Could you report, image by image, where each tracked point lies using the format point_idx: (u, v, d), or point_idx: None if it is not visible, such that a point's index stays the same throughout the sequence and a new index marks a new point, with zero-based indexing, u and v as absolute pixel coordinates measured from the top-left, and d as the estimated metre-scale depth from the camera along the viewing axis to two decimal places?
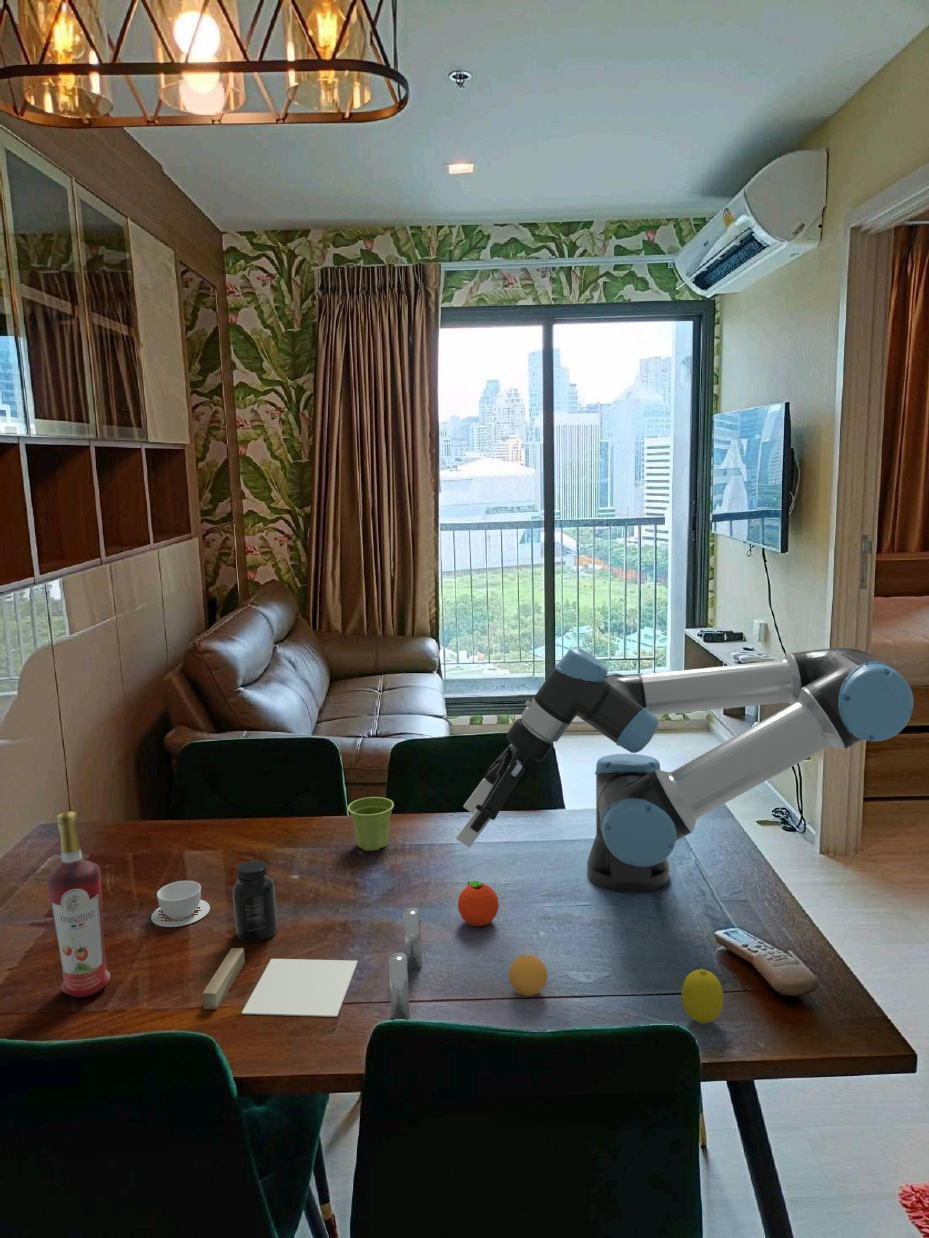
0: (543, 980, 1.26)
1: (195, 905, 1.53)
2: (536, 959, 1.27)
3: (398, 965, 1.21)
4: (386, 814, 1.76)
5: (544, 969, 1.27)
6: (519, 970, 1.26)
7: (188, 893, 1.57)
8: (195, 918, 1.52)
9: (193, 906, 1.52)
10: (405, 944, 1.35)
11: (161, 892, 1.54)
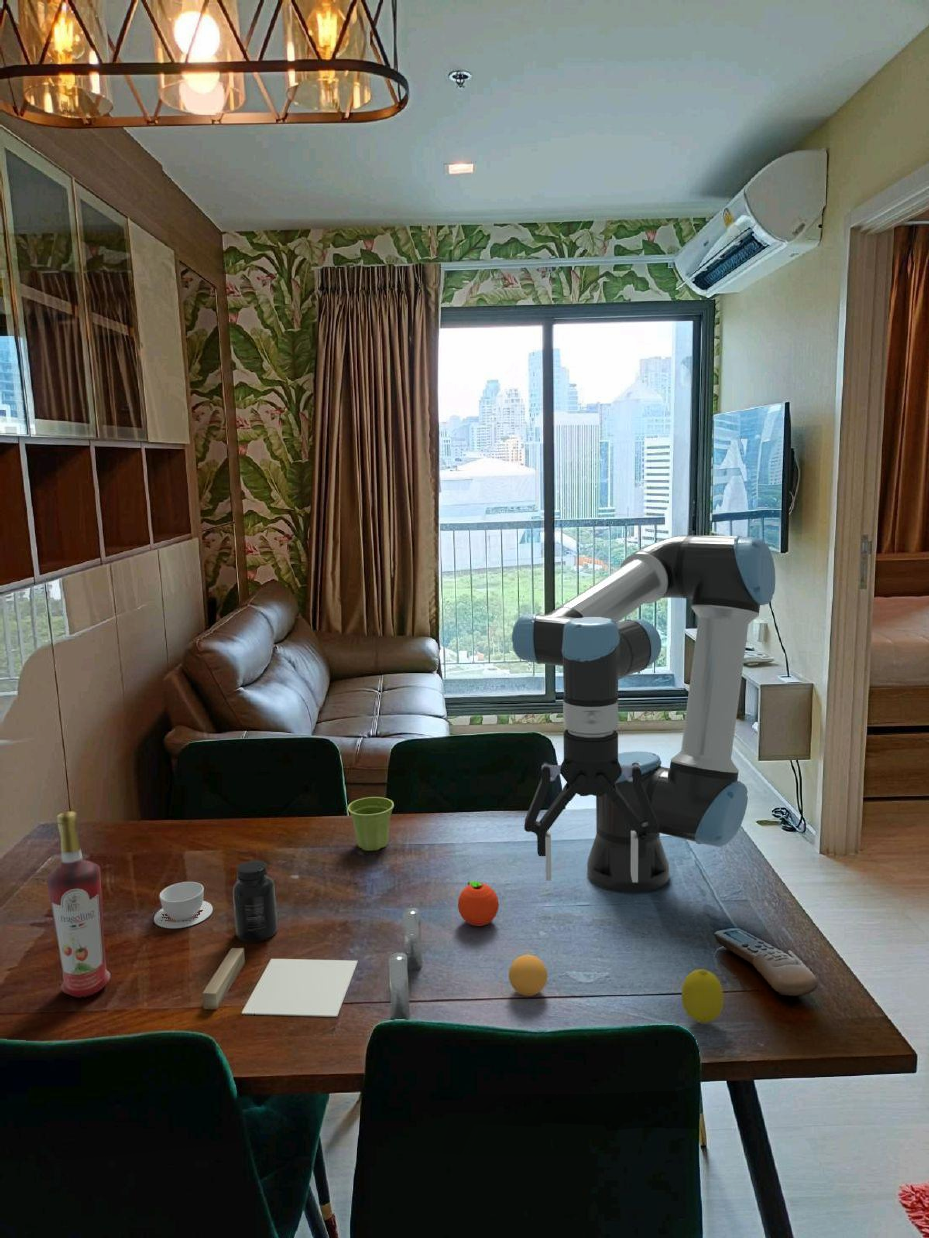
0: (543, 980, 1.26)
1: (198, 906, 1.52)
2: (536, 959, 1.27)
3: (398, 965, 1.21)
4: (386, 814, 1.76)
5: (544, 969, 1.27)
6: (519, 970, 1.26)
7: (191, 895, 1.57)
8: (197, 919, 1.52)
9: (196, 907, 1.52)
10: (405, 944, 1.35)
11: (164, 893, 1.54)
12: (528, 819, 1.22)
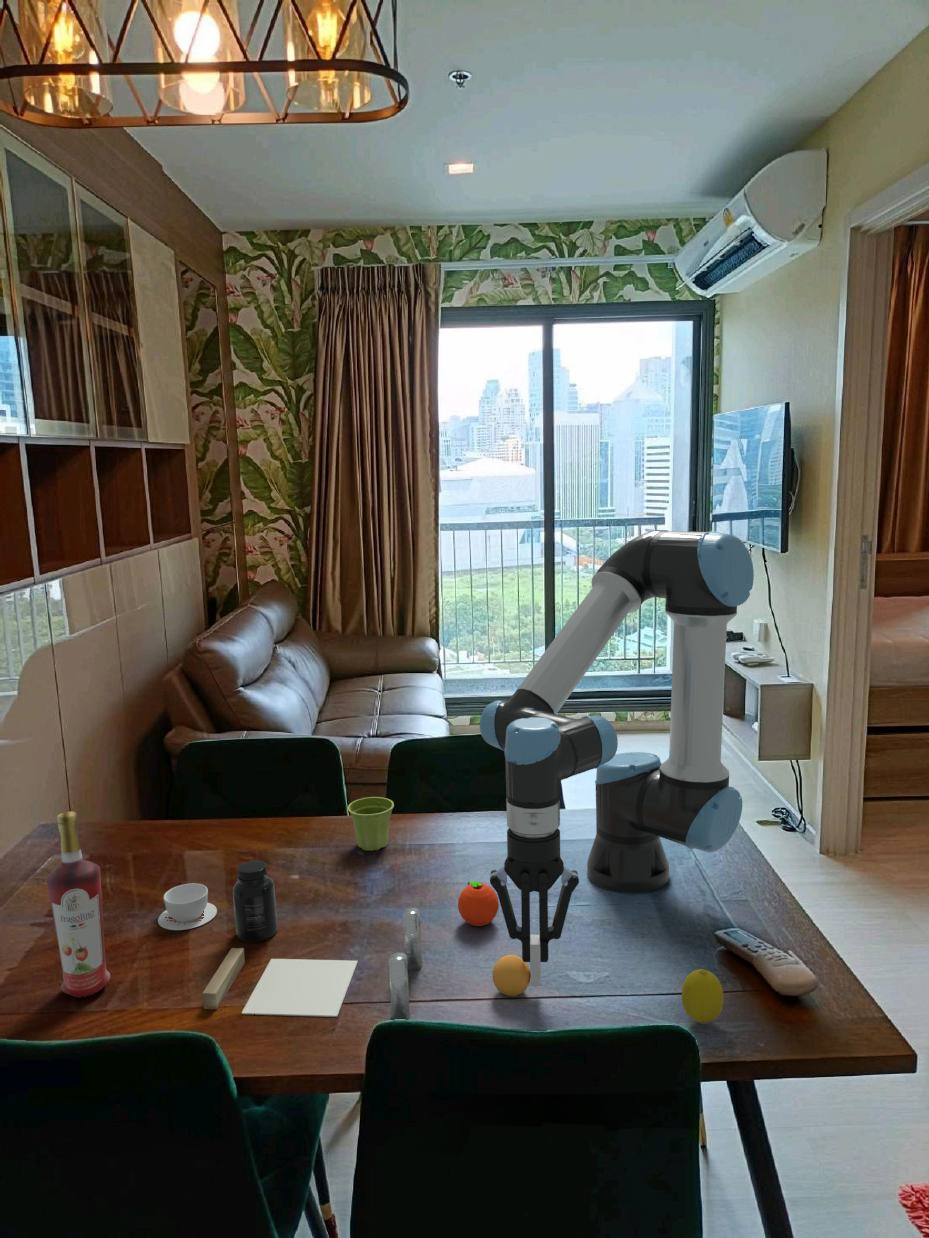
0: (523, 972, 1.26)
1: (202, 908, 1.52)
2: (509, 957, 1.27)
3: (398, 965, 1.21)
4: (386, 814, 1.76)
5: (520, 962, 1.27)
6: (497, 977, 1.26)
7: (195, 896, 1.56)
8: (202, 921, 1.51)
9: (200, 909, 1.51)
10: (405, 944, 1.35)
11: (168, 895, 1.53)
12: (508, 928, 1.25)
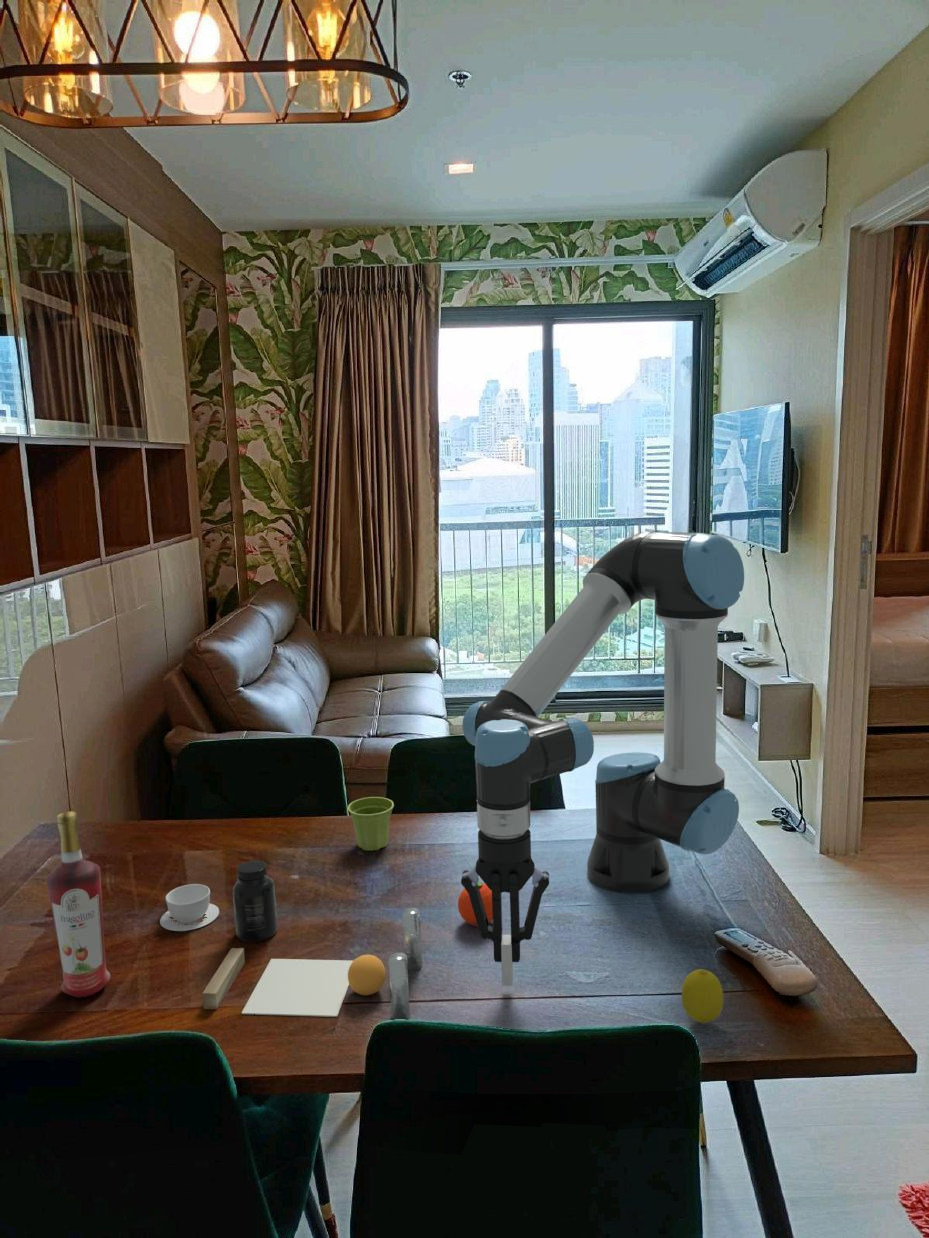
0: (357, 968, 1.27)
1: (204, 909, 1.51)
2: None
3: (398, 965, 1.21)
4: (386, 814, 1.76)
5: (352, 965, 1.28)
6: (357, 992, 1.28)
7: (197, 897, 1.56)
8: (204, 921, 1.51)
9: (202, 910, 1.51)
10: (405, 944, 1.35)
11: (170, 896, 1.53)
12: (479, 928, 1.26)
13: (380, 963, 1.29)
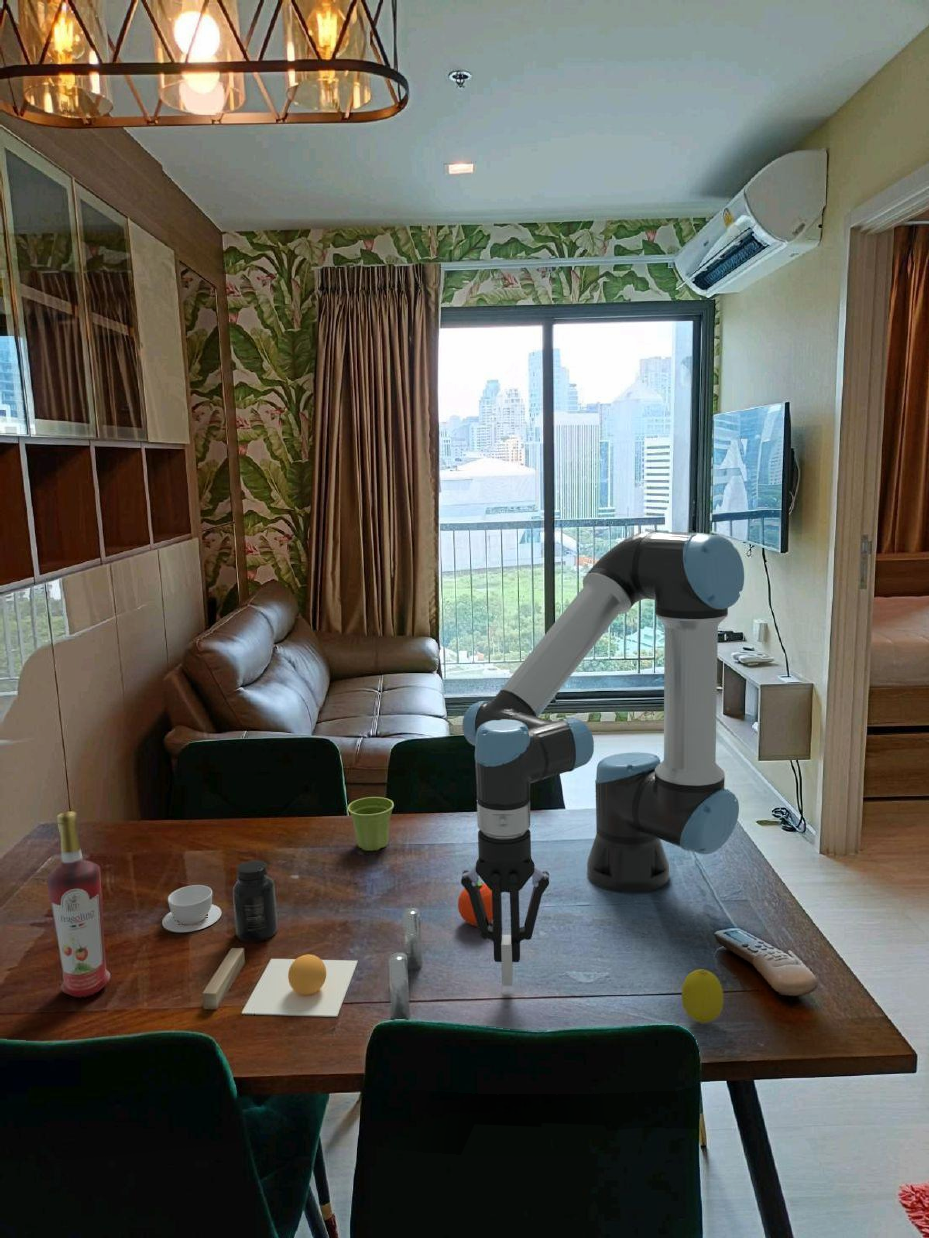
0: (312, 993, 1.28)
1: (207, 910, 1.51)
2: (325, 975, 1.30)
3: (398, 965, 1.21)
4: (386, 814, 1.76)
5: (320, 987, 1.29)
6: (311, 970, 1.27)
7: (199, 898, 1.55)
8: (206, 923, 1.51)
9: (204, 911, 1.50)
10: (405, 944, 1.35)
11: (172, 897, 1.52)
12: (479, 928, 1.26)
13: None
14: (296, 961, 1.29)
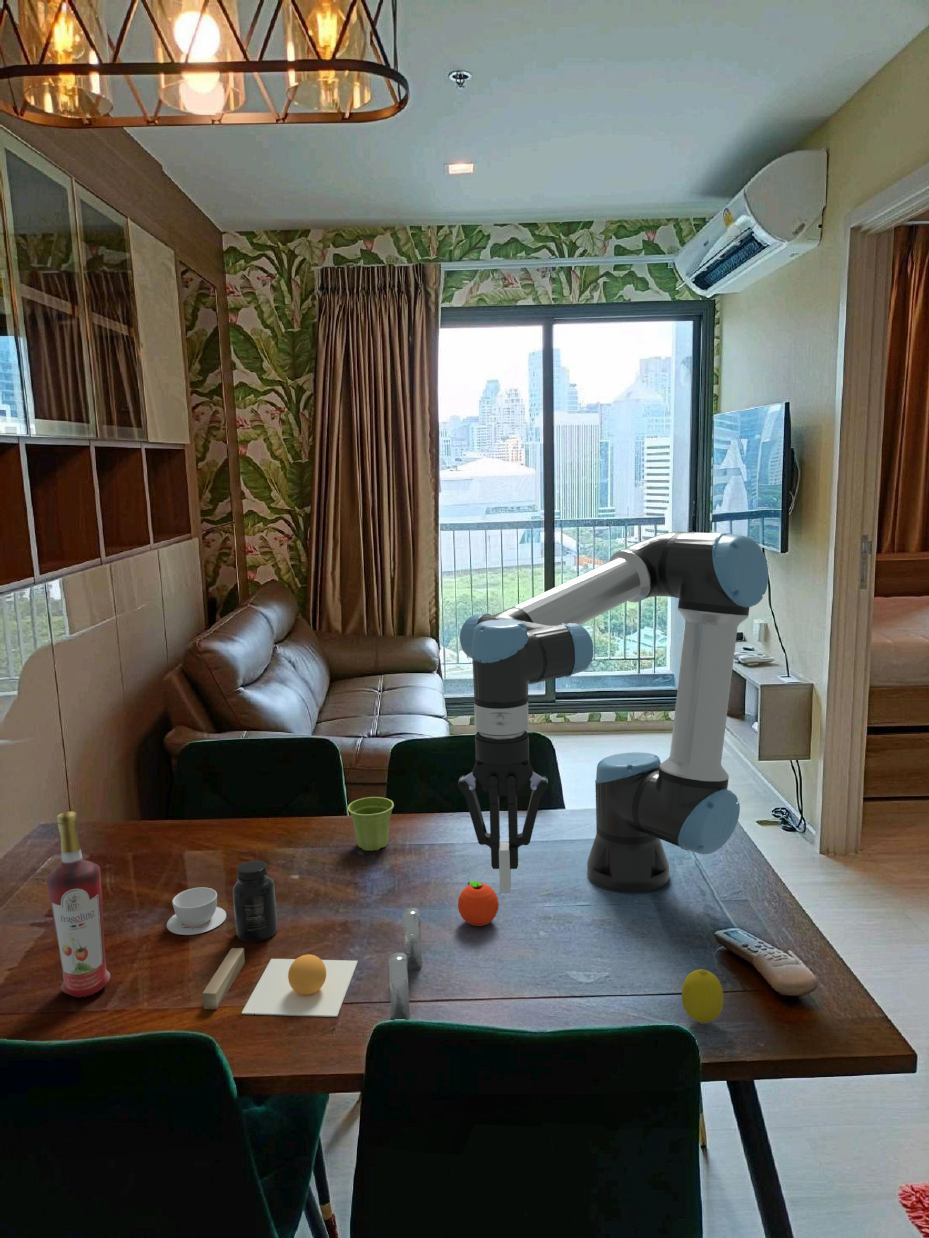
0: (312, 993, 1.28)
1: (211, 912, 1.50)
2: (325, 975, 1.30)
3: (398, 965, 1.21)
4: (386, 814, 1.76)
5: (320, 987, 1.29)
6: (311, 970, 1.27)
7: (204, 900, 1.54)
8: (211, 925, 1.50)
9: (209, 913, 1.50)
10: (405, 944, 1.35)
11: (177, 899, 1.52)
12: (477, 833, 1.23)
13: None
14: (296, 961, 1.29)
